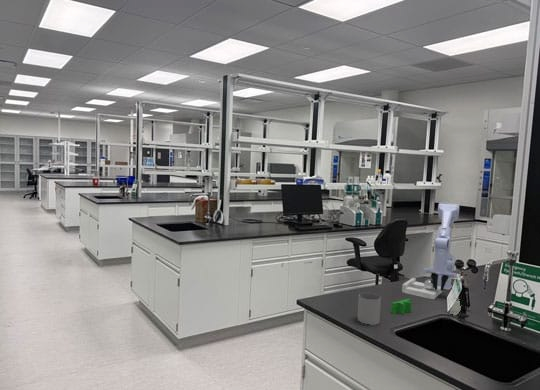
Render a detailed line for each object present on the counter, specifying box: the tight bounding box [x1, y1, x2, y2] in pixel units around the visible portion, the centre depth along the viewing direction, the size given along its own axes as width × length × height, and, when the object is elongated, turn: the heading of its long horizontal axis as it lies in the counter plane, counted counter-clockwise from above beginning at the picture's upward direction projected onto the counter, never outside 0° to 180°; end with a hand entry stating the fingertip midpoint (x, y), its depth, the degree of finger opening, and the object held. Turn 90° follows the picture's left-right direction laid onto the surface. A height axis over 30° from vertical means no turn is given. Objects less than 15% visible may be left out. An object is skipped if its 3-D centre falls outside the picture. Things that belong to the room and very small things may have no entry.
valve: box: [449, 298, 468, 315], centre depth 162 cm, size 7×7×12 cm
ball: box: [423, 278, 434, 290], centre depth 185 cm, size 5×5×5 cm
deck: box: [401, 277, 443, 301], centre depth 189 cm, size 16×15×4 cm
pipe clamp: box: [390, 298, 413, 315], centre depth 160 cm, size 11×4×5 cm, turn 122°
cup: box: [357, 292, 382, 326], centre depth 149 cm, size 8×8×10 cm
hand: (438, 289), depth 183 cm, fingers open, 2 cm apart
